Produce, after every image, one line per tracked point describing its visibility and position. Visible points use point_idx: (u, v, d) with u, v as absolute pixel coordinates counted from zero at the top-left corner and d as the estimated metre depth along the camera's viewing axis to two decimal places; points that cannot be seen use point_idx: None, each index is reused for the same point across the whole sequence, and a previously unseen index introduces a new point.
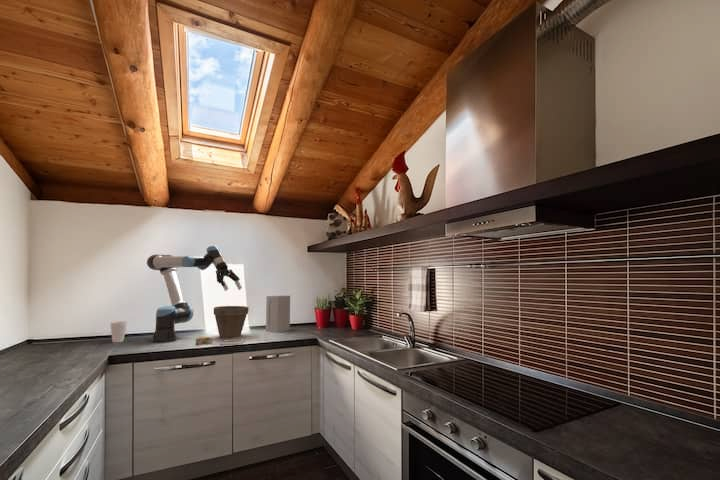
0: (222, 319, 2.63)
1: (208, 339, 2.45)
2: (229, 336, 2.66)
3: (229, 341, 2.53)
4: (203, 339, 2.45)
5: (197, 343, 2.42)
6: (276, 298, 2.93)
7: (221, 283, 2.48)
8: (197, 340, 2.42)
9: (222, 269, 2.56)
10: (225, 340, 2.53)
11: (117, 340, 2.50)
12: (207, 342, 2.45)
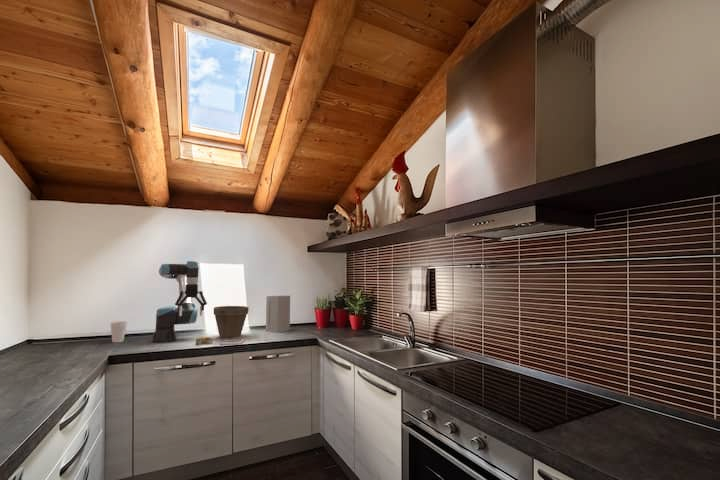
0: (222, 319, 2.63)
1: (208, 339, 2.45)
2: (229, 336, 2.66)
3: (229, 341, 2.53)
4: (203, 339, 2.45)
5: (197, 343, 2.42)
6: (276, 298, 2.93)
7: None
8: (197, 340, 2.42)
9: (187, 291, 2.47)
10: (225, 340, 2.53)
11: (117, 340, 2.50)
12: (207, 342, 2.45)
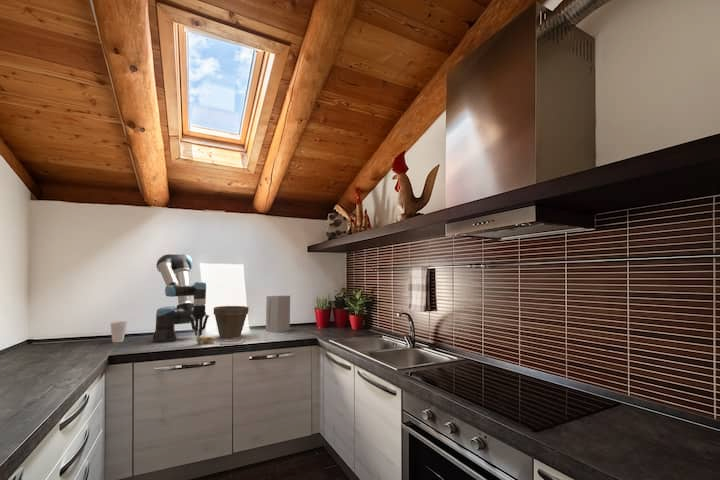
0: (222, 319, 2.63)
1: (209, 339, 2.45)
2: (229, 336, 2.66)
3: (229, 341, 2.53)
4: (204, 339, 2.45)
5: (198, 343, 2.42)
6: (276, 298, 2.93)
7: None
8: (198, 340, 2.42)
9: (194, 312, 2.46)
10: (225, 340, 2.53)
11: (117, 340, 2.50)
12: (208, 342, 2.45)
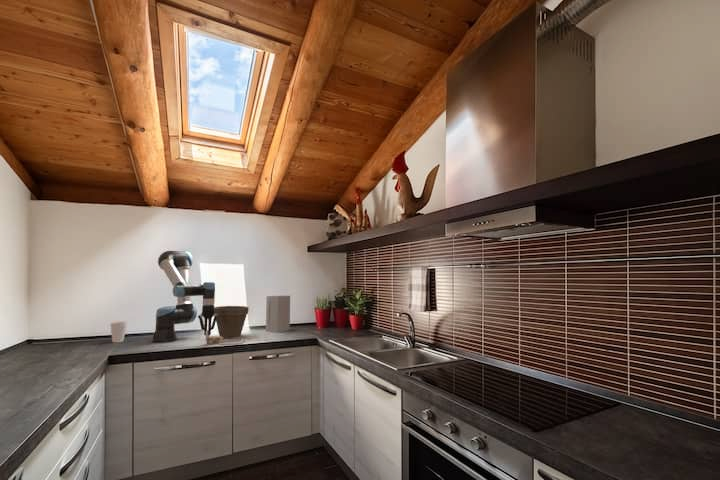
0: (222, 319, 2.63)
1: (218, 339, 2.46)
2: (229, 336, 2.66)
3: (229, 341, 2.53)
4: (213, 339, 2.46)
5: (208, 343, 2.43)
6: (276, 298, 2.93)
7: None
8: (208, 340, 2.43)
9: (203, 311, 2.47)
10: (225, 340, 2.53)
11: (117, 340, 2.50)
12: (217, 342, 2.46)
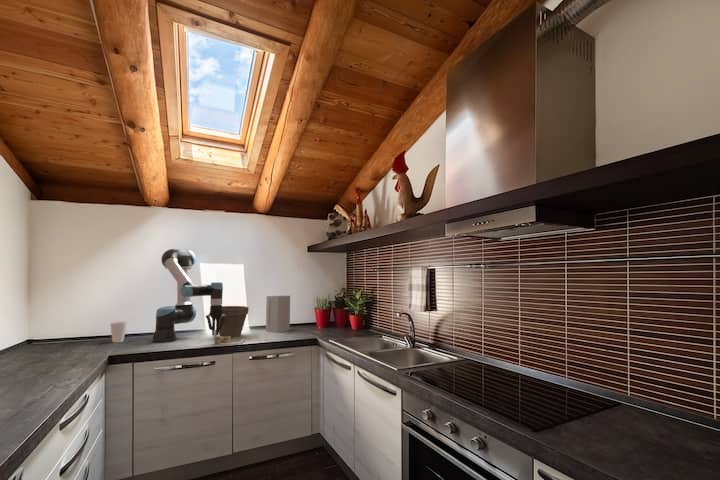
0: None
1: (226, 339, 2.47)
2: (229, 336, 2.66)
3: None
4: (221, 339, 2.46)
5: (216, 343, 2.43)
6: (276, 298, 2.93)
7: None
8: (216, 340, 2.43)
9: (211, 311, 2.47)
10: None
11: (117, 340, 2.50)
12: (225, 342, 2.46)
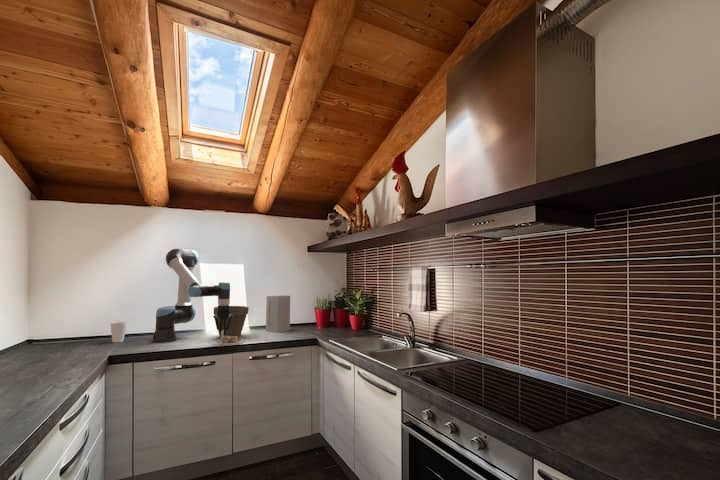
0: None
1: (234, 338, 2.47)
2: None
3: None
4: (229, 338, 2.47)
5: (223, 342, 2.44)
6: (276, 298, 2.93)
7: (220, 332, 2.48)
8: (223, 339, 2.44)
9: (218, 312, 2.48)
10: None
11: (117, 340, 2.50)
12: (233, 341, 2.47)
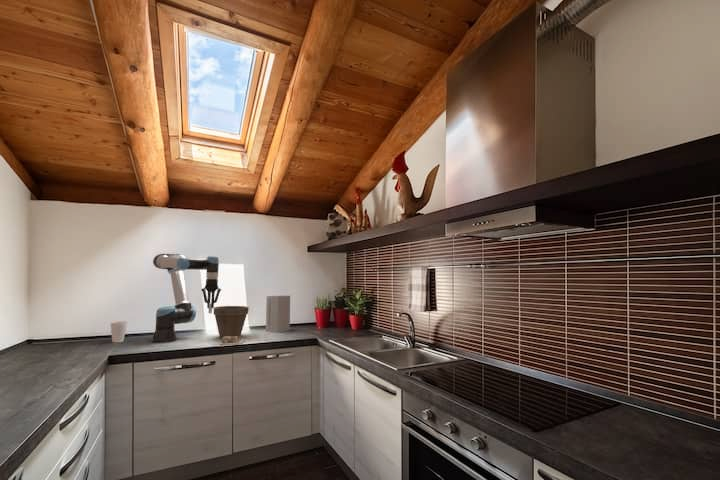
0: (222, 319, 2.63)
1: (234, 338, 2.47)
2: None
3: None
4: (229, 338, 2.47)
5: (223, 342, 2.44)
6: (276, 298, 2.93)
7: None
8: (223, 339, 2.44)
9: (207, 285, 2.51)
10: None
11: (117, 340, 2.50)
12: (233, 341, 2.47)
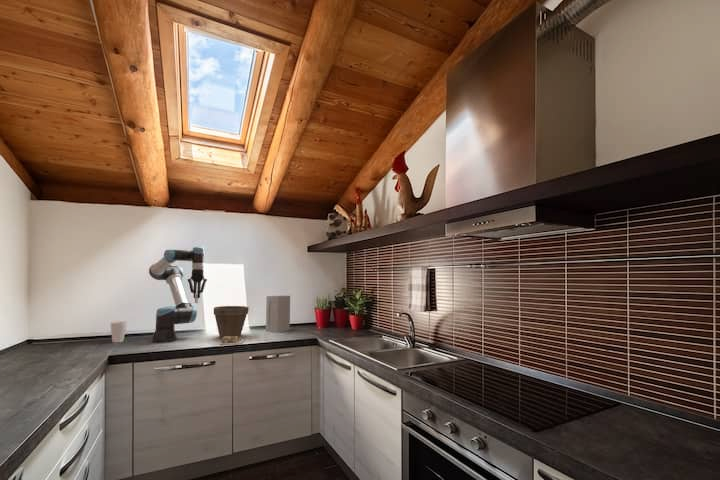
0: (222, 319, 2.63)
1: (234, 338, 2.47)
2: None
3: None
4: (229, 338, 2.47)
5: (223, 342, 2.44)
6: (276, 298, 2.93)
7: (194, 295, 2.56)
8: (223, 339, 2.44)
9: (192, 275, 2.56)
10: None
11: (117, 340, 2.50)
12: (233, 341, 2.47)
